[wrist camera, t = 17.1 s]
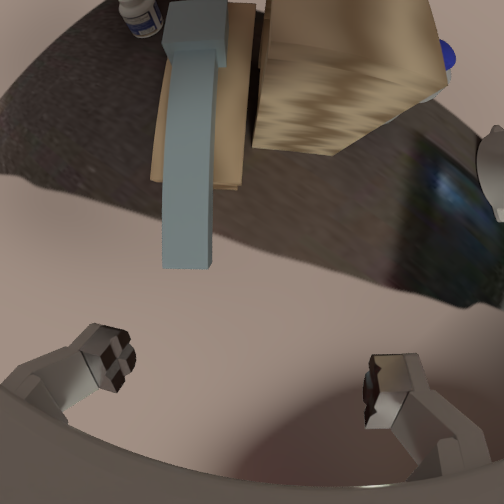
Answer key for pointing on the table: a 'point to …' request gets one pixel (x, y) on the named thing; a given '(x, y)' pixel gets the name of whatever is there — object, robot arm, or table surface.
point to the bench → (220, 103)
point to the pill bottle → (141, 17)
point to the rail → (191, 129)
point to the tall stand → (342, 70)
